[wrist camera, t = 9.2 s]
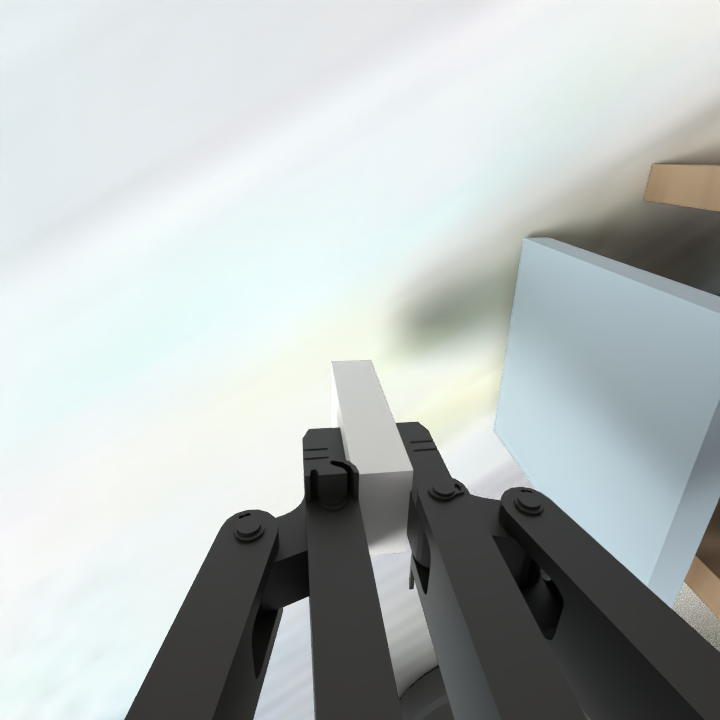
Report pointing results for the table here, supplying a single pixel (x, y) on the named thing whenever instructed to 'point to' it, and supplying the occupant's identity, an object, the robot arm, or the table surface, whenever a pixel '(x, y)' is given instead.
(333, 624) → the robot arm
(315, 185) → the table surface
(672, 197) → the tunnel
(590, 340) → the plunger
